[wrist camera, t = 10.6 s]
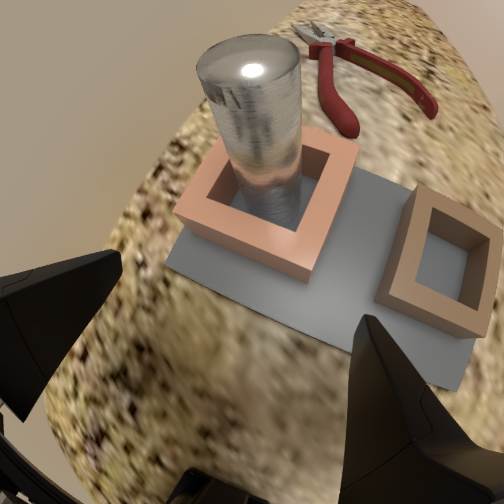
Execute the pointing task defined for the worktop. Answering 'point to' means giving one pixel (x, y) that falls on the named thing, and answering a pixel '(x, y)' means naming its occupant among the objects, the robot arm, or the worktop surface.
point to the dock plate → (373, 274)
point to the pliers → (345, 49)
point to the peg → (259, 119)
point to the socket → (261, 231)
